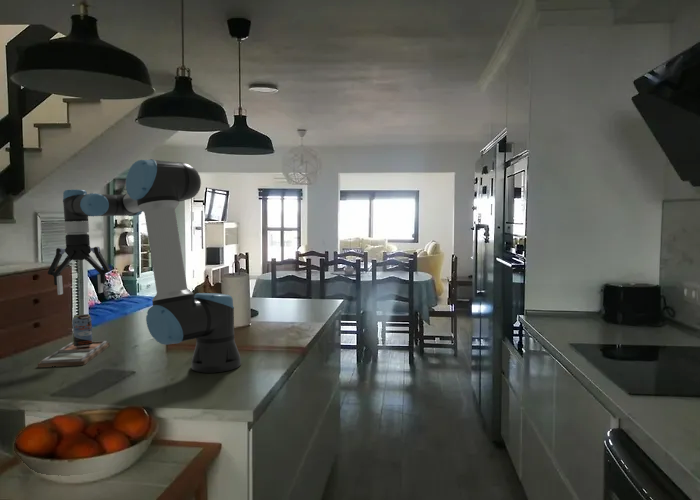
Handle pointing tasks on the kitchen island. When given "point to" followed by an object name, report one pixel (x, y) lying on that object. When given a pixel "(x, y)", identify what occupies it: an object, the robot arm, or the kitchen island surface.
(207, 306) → the robot arm
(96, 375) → the kitchen island surface
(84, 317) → the beverage can
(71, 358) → the framed panel board
